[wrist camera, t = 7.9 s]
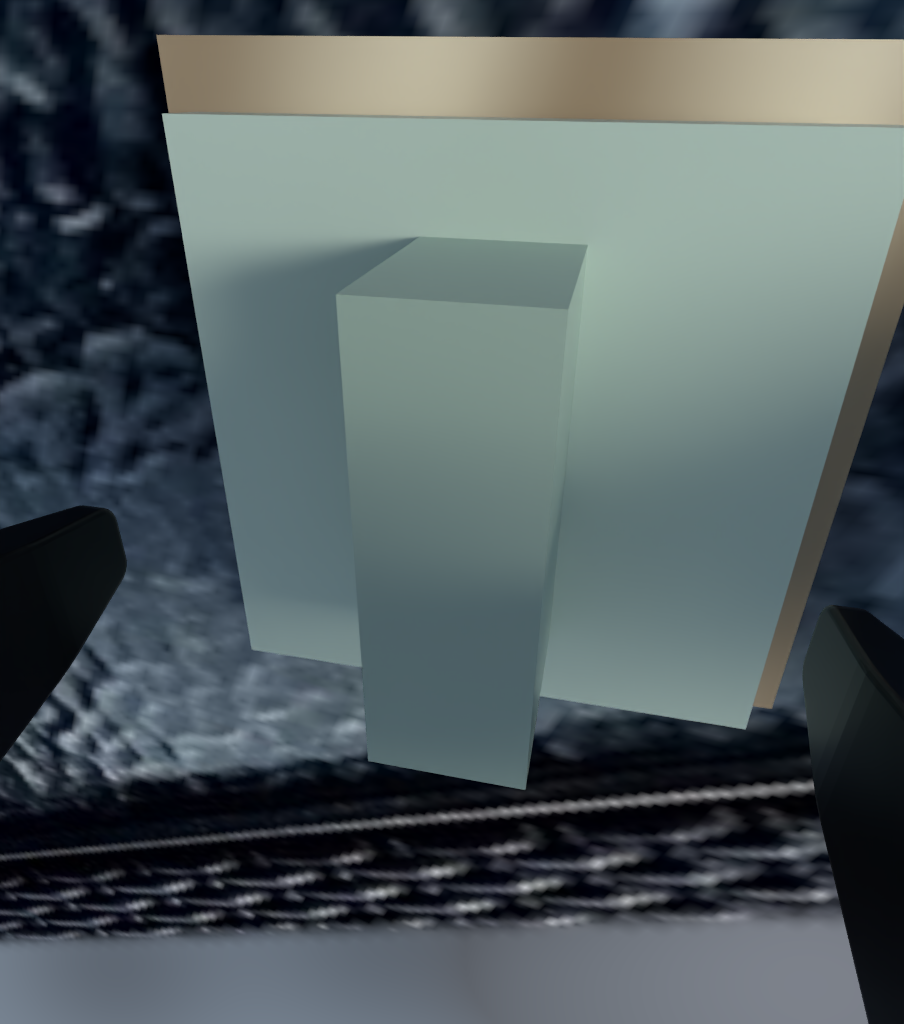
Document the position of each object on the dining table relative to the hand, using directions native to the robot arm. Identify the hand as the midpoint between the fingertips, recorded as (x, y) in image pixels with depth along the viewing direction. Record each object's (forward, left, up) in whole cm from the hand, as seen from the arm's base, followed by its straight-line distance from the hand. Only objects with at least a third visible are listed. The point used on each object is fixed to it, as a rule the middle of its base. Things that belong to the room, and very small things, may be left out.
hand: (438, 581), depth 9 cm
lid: (0, 0, -5) cm, 5 cm away
